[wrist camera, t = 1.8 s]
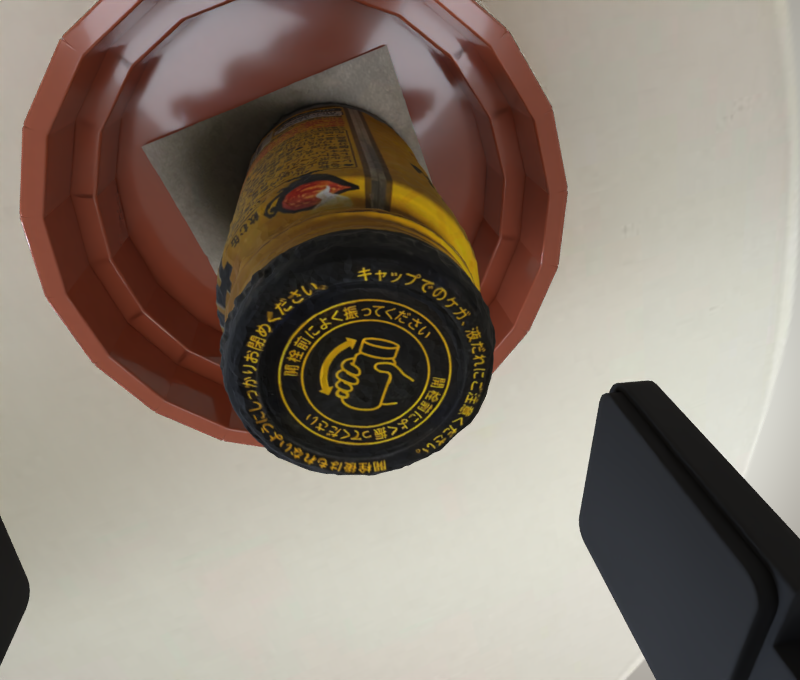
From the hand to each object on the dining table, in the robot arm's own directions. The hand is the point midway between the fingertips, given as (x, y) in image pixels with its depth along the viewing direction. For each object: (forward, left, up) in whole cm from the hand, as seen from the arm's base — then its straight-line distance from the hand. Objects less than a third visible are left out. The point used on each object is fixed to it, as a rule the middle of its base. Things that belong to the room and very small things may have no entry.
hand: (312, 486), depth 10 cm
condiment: (0, 0, -15) cm, 15 cm away
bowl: (0, 0, -15) cm, 15 cm away
